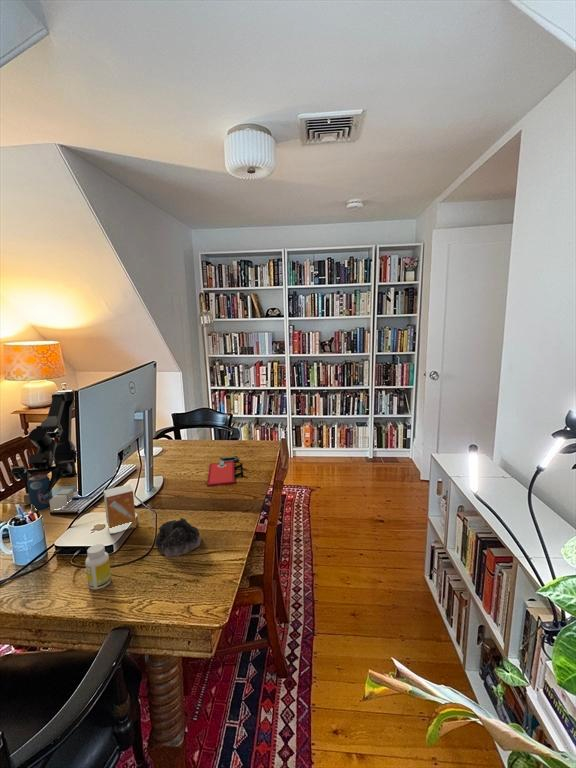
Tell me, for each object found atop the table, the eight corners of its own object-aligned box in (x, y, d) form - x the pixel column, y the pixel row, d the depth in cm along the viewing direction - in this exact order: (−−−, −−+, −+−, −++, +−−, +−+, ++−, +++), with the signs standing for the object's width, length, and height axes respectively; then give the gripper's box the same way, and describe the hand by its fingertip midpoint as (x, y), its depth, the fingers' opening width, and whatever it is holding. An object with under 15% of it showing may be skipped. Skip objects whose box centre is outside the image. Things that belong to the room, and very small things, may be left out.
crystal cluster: (170, 533, 119) (164, 505, 117) (209, 532, 117) (204, 504, 115) (149, 562, 106) (141, 532, 104) (193, 562, 104) (186, 531, 102)
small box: (110, 535, 117) (105, 497, 115) (107, 527, 122) (102, 490, 120) (137, 527, 122) (133, 490, 119) (133, 519, 127) (129, 483, 125)
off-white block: (56, 505, 138) (55, 495, 138) (67, 504, 139) (66, 494, 138) (50, 510, 135) (49, 500, 134) (62, 510, 135) (60, 499, 134)
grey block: (63, 499, 143) (62, 489, 143) (74, 498, 144) (72, 488, 143) (58, 504, 139) (56, 494, 139) (69, 503, 140) (67, 493, 139)
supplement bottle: (115, 575, 99) (111, 541, 97) (106, 589, 93) (101, 554, 92) (94, 576, 98) (90, 542, 97) (84, 591, 93) (79, 555, 91)
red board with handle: (241, 457, 183) (210, 460, 181) (241, 452, 182) (210, 455, 180) (244, 484, 154) (207, 488, 151) (243, 477, 153) (206, 481, 151)
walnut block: (31, 500, 143) (29, 490, 143) (42, 499, 144) (40, 489, 143) (24, 505, 140) (23, 495, 139) (36, 504, 140) (34, 494, 139)
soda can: (44, 512, 133) (40, 480, 132) (26, 512, 134) (21, 480, 132) (57, 502, 140) (53, 472, 138) (40, 502, 141) (35, 472, 139)
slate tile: (55, 489, 152) (54, 487, 152) (77, 488, 153) (77, 485, 153) (42, 499, 143) (42, 497, 143) (66, 498, 144) (66, 495, 144)
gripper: (9, 446, 135) (-2, 487, 126) (66, 441, 139) (59, 480, 130) (21, 459, 144) (12, 498, 135) (75, 454, 148) (69, 491, 139)
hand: (38, 492), depth 135 cm, fingers closed on soda can, 7 cm apart
